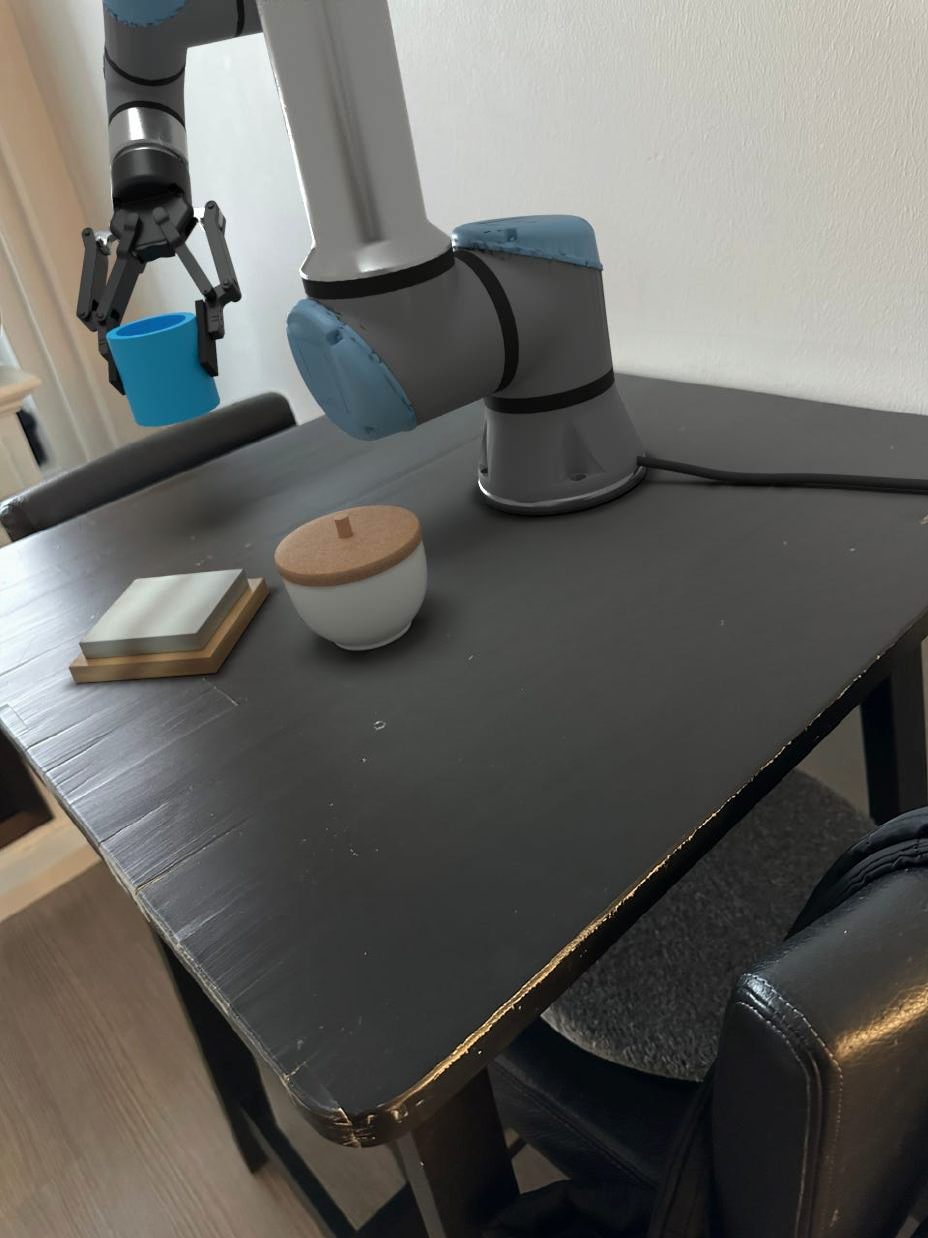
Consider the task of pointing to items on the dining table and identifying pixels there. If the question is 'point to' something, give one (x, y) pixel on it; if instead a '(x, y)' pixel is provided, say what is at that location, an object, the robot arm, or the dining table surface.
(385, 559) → the trinket box
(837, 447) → the dining table surface
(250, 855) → the dining table surface
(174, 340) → the mug
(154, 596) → the pad stack
